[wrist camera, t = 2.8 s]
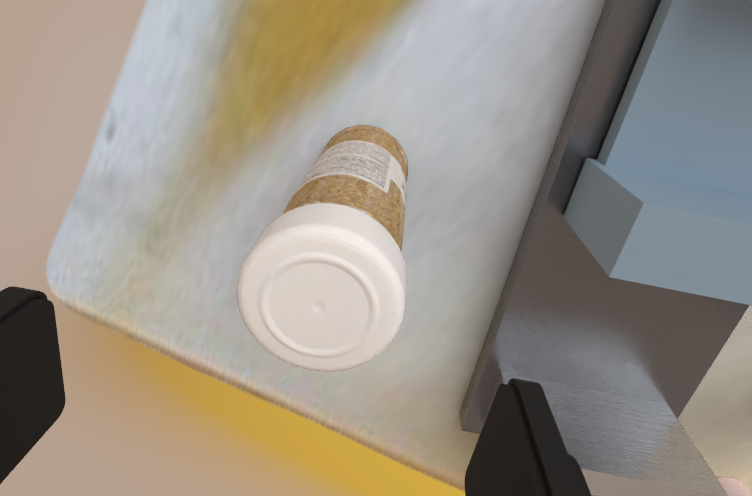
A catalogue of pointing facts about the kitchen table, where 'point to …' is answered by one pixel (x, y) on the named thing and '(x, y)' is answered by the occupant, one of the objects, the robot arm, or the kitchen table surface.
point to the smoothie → (734, 487)
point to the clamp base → (602, 314)
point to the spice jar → (333, 258)
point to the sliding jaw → (678, 159)
